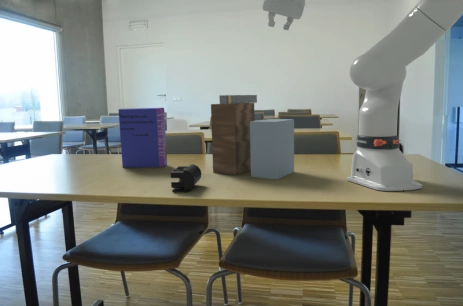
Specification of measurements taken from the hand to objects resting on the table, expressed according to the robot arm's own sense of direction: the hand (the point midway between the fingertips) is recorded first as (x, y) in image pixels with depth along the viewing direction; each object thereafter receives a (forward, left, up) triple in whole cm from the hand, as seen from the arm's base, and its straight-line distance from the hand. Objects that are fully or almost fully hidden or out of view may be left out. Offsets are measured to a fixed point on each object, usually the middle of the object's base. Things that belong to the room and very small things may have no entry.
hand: (278, 28), depth 132 cm
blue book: (+15, +53, -52) cm, 76 cm away
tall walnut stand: (-3, +18, -52) cm, 55 cm away
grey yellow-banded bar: (+1, +15, -27) cm, 31 cm away
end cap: (-27, +36, -52) cm, 69 cm away
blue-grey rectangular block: (-13, +6, -52) cm, 54 cm away
